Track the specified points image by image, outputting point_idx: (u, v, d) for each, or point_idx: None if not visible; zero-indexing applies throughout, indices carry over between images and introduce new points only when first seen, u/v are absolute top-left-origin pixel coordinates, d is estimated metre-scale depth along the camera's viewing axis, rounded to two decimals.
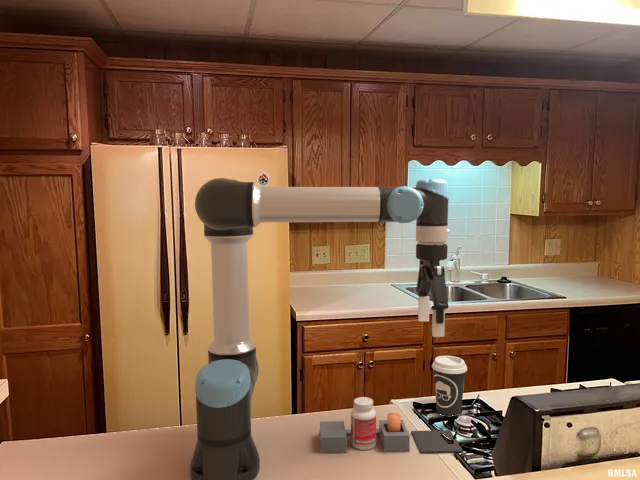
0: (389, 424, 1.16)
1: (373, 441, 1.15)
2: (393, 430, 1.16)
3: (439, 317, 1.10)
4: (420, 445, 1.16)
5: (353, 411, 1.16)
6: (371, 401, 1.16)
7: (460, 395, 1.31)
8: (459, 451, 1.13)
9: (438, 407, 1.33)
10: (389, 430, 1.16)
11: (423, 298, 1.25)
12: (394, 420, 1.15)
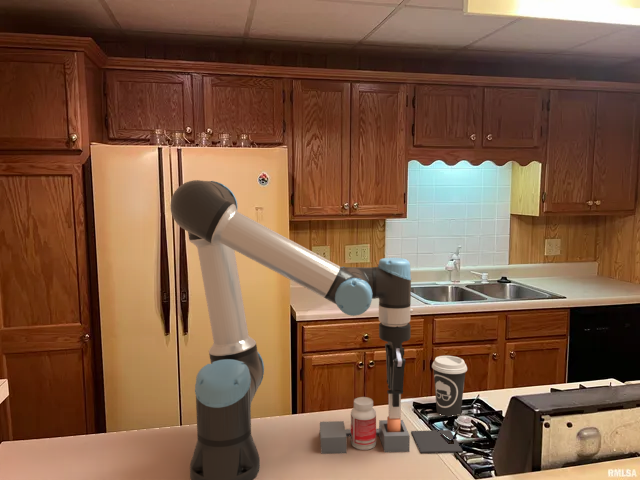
0: (389, 426, 1.16)
1: (373, 441, 1.15)
2: None
3: (395, 401, 1.15)
4: (420, 445, 1.16)
5: (353, 411, 1.16)
6: (371, 401, 1.16)
7: (460, 395, 1.31)
8: (459, 451, 1.13)
9: (438, 407, 1.33)
10: None
11: None
12: (394, 422, 1.16)
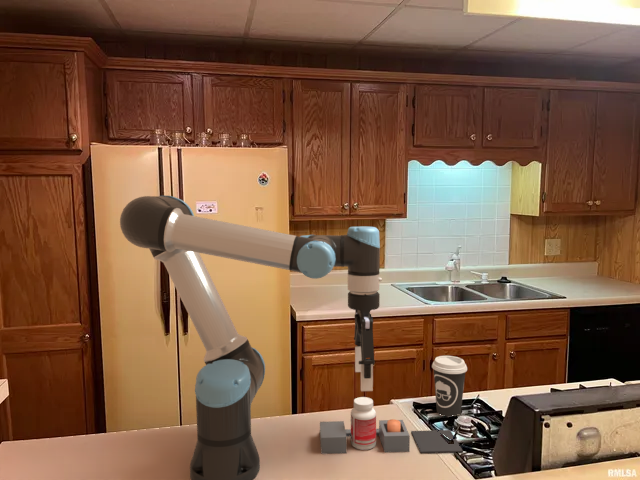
0: (389, 430, 1.16)
1: (373, 441, 1.15)
2: None
3: (366, 372, 1.08)
4: (420, 445, 1.16)
5: (353, 411, 1.16)
6: (371, 401, 1.16)
7: (460, 395, 1.31)
8: (459, 451, 1.13)
9: (438, 407, 1.33)
10: None
11: (359, 348, 1.21)
12: (394, 427, 1.16)
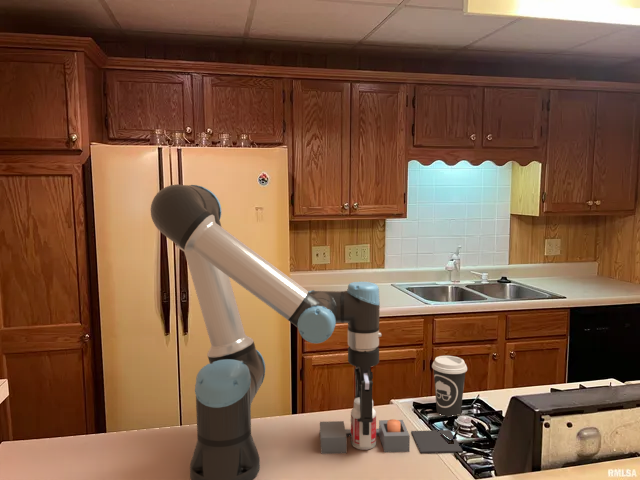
0: (389, 430, 1.16)
1: (373, 441, 1.15)
2: None
3: (365, 429, 1.12)
4: (420, 445, 1.16)
5: (353, 411, 1.16)
6: None
7: (460, 395, 1.31)
8: (459, 451, 1.13)
9: (438, 407, 1.33)
10: None
11: None
12: (394, 427, 1.16)
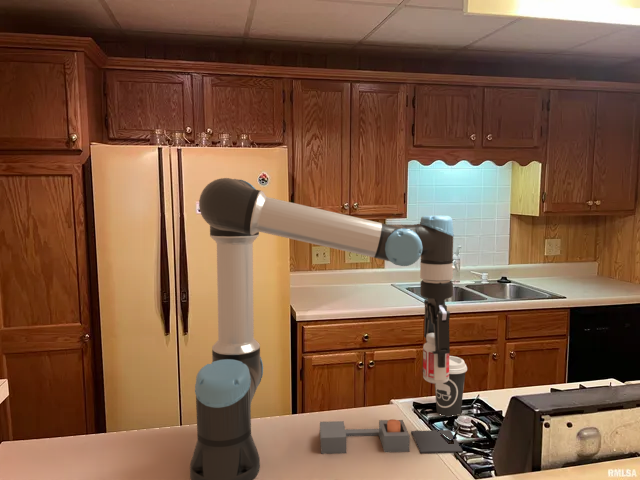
0: (389, 430, 1.16)
1: (447, 375, 1.14)
2: None
3: (441, 361, 1.11)
4: (420, 445, 1.16)
5: (426, 345, 1.15)
6: None
7: (460, 395, 1.31)
8: (459, 451, 1.13)
9: (438, 407, 1.33)
10: None
11: None
12: (394, 427, 1.16)
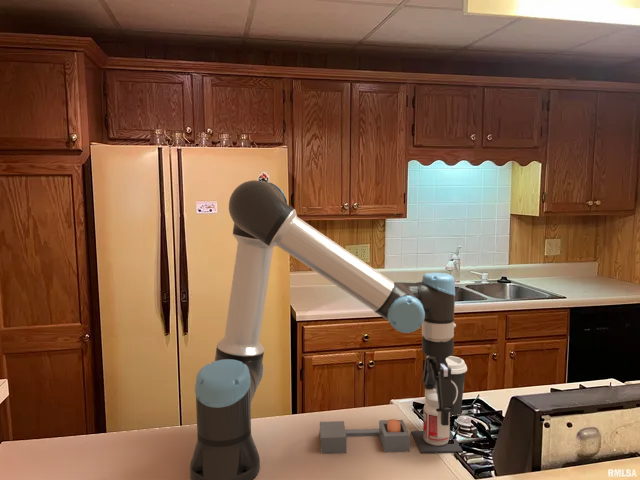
0: (389, 430, 1.16)
1: (447, 437, 1.16)
2: None
3: (444, 419, 1.10)
4: (420, 445, 1.16)
5: (426, 407, 1.17)
6: None
7: (460, 395, 1.31)
8: (459, 451, 1.13)
9: None
10: None
11: (430, 391, 1.22)
12: (394, 427, 1.16)
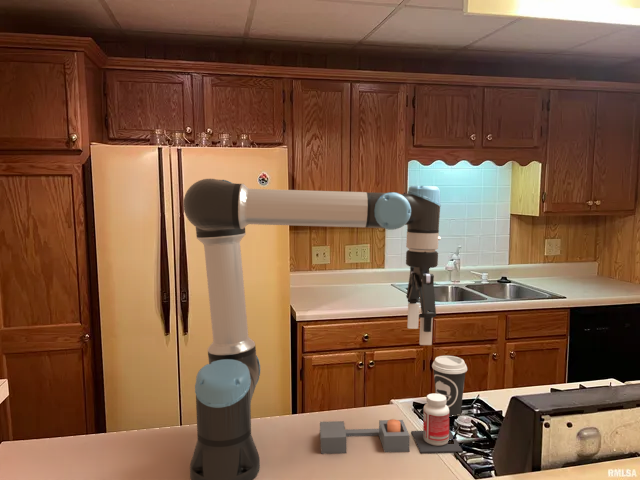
0: (389, 430, 1.16)
1: (447, 437, 1.16)
2: None
3: (427, 325, 1.09)
4: (420, 445, 1.16)
5: (427, 407, 1.17)
6: (444, 397, 1.17)
7: (460, 395, 1.31)
8: (459, 451, 1.13)
9: None
10: None
11: (413, 305, 1.23)
12: (394, 427, 1.16)
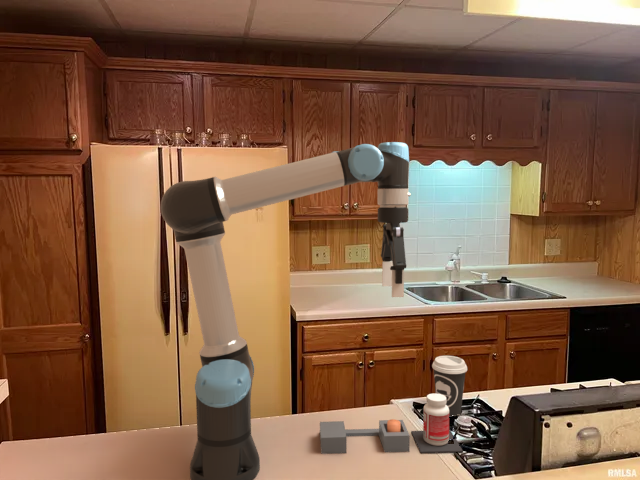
0: (389, 430, 1.16)
1: (447, 437, 1.16)
2: None
3: (398, 277, 1.12)
4: (420, 445, 1.16)
5: (427, 407, 1.17)
6: (444, 397, 1.17)
7: (460, 395, 1.31)
8: (459, 451, 1.13)
9: None
10: None
11: (387, 263, 1.26)
12: (394, 427, 1.16)
